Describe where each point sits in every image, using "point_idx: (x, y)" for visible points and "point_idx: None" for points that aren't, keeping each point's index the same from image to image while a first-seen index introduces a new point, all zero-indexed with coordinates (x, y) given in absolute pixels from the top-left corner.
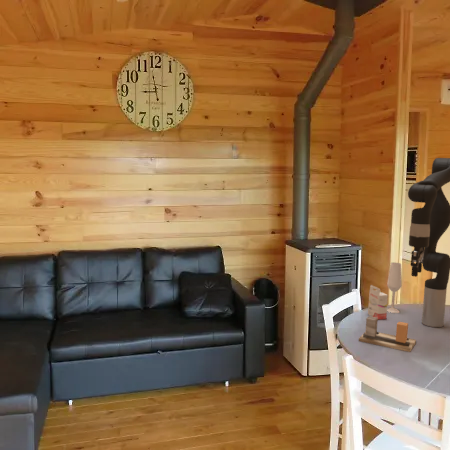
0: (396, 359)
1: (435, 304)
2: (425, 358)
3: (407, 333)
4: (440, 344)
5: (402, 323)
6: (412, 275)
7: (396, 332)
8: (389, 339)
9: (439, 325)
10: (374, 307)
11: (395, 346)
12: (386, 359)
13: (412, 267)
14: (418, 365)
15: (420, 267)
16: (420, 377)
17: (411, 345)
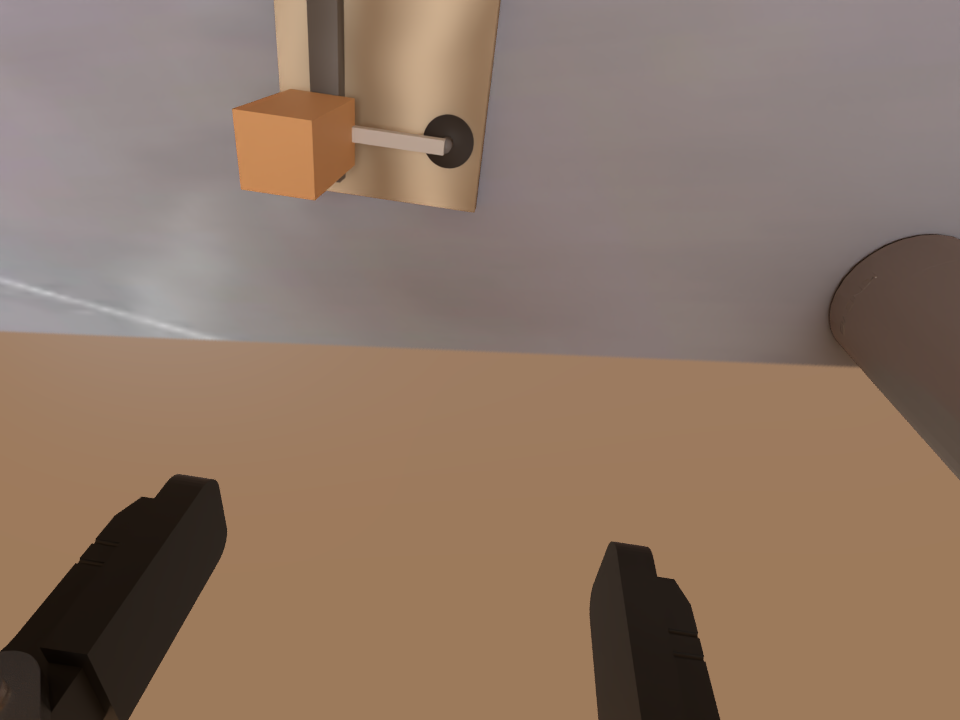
0: (123, 109)
1: (919, 398)
2: (253, 259)
3: (339, 177)
4: (511, 331)
5: (280, 154)
6: (179, 488)
7: (263, 99)
8: (312, 37)
9: (839, 342)
10: None
11: (281, 88)
12: (75, 47)
13: (57, 639)
14: (135, 228)
15: (601, 694)
16: (3, 239)
17: (351, 188)
